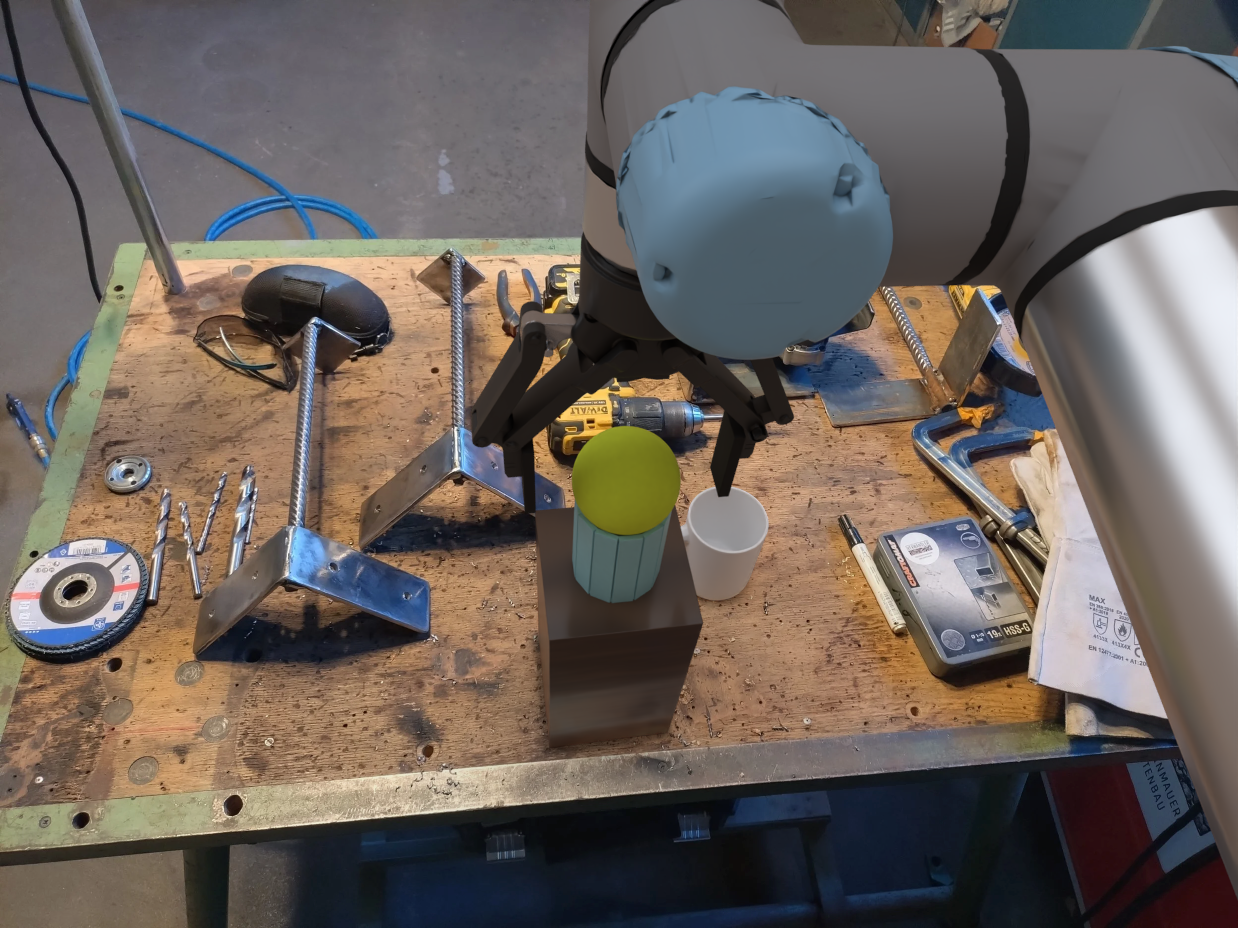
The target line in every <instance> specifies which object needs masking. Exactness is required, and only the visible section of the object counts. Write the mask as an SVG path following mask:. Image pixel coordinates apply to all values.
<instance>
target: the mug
mask: <svg viewBox="0 0 1238 928" xmlns="http://www.w3.org/2000/svg"><path fill="white" fill-rule="evenodd" d="M691 500H692V501H691V502H690V504H689V506H688V509H687V515H686V519H685V523H684V524H682V525H680V526H681V531H682V535H683V539H684V543H685V547H686V552H687V556H688V560H689V564H690V569H691V573H692V577H693V581H694V586H695V590H696V594H697V597H698V598H702V599H704V600H707V601H725V600H728V599H732V598H734V597H735V596H737V595H739V594H741V592H742V591H743V590H744V589H745V588H746V586H747V585H748V583H749V581H750V579H751V577H752V575H753V571H754V569H755V566H756V564H757V561H758V558H759V556H760V553H761V550H762V547H763V546H764V543H765V541H766V538H767V535H768V532H769V525H770V524H769V523H770V522H769V521H770V520H769V517H768V514H767V511H766V509H765V507H764V506H763V504H762V503H761V502H760V501H759V500H758V499H757V498H756V497H755V496H754V495H753V494H751V493H749V492H748V491H746V490H744V489H741V488H739V487H736V486H732V487H731V490H730V493H729V496H728V497H718V494H717V491H716V487H715V486H712V487H708V488H706V489H704V490H702V491H700V492H699V493H698V494H697V495H696V496H695V497H693V499H691Z"/></svg>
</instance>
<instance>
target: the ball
mask: <svg viewBox="0 0 1238 928" xmlns="http://www.w3.org/2000/svg"><path fill="white" fill-rule="evenodd" d="M681 479H682V477H681V469H680V465H679V462H678V460H677V457H676V456H675V453H674V452H673V450H672V449H671V447H670V446H669V445H668V443H666V441H664V440H663V439H662V438H661V437H660V436H659V435H657V434H655V433H654V432H652V431H650V430H647V429H646V428H642V427H638V426H633V425H620V426H614V427H610V428H607V429H605V430H602V431H601V432H599V433H597V434H596V435H594V436H593V437H591V438H590V439H589V440H588V441H587V442H585V444H584V445H583V446H582V448H581V450H580V451H579V452H578V454H577V456H576V458H575V460H574V463H573V467H572V471H571V489H572V494H573V498H574V501H575V500H576V503H577V505H578V507H579V508H580V510H581V512H582V513H583V514H584V516H585V517H586V518H587V519H588V520H589V521H590V522H591V523H593V524H594V525H595V526H597V527H599V528H600V529H602V530H605V531H607V532H610V533H614V534H619V535H633V534H639V533H643V532H645V531H648V530H650V529H652V528H654V527H655V526H657V525H658V524H660V523H661V522H662V521H663V520H664V519H665V518H666V517H667V516H668V515H669V514H670V512H671V511H672V509H673V508H674V506H675V505H676V504H677V501H678V499H679V495H680V491H681V484H682V481H681Z"/></svg>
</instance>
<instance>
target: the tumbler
mask: <svg viewBox="0 0 1238 928" xmlns="http://www.w3.org/2000/svg"><path fill="white" fill-rule="evenodd" d="M573 504H574V505H573V507H574V529H573V554H572V562H573V569H574V576H575V577H576V580H577V581H578V583H579V584H580V585H581V586H582V587H583V589H584V590H585V591H586V592H587V593H588V594H589V593H590V596H593V597H596V598H598V599H601V600H603V601H606V602H609V603H610V602H612V603H618V602H628V601H633V599H634V600H636V599H637V598H639V597H640V596H642V595H643V594H645V593H646V592H648V591H649V590H650V589H651V587H653V585H654V582H655V580H656V578H657V575H658V573H659V570H660V565H661V560H662V555H663V550H664V546H665V541H666V536H667V531H668V526H669V522H670V517H671V512H672V511H671V512H670V514H669V515H668V516H667V517H666V518H665V519H664V520H663V521H662V522H661V523H660V524H658V525H657V526H655V527H654V528H652V529H650V530H648V531H645V532H643V533H639V534H633V535H619V534H614V533H610V532H607V531H605V530H602V529H600V528H599V527H597V526H595V525H594V524H593V523H591V522H590V521H589V520H588V519H587V518H586V517H585V516H584V514H583V513H582V512H581V510H580V508H579V507H578V505H577V503H576V500H575V499H574V503H573Z"/></svg>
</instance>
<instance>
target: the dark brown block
mask: <svg viewBox="0 0 1238 928" xmlns="http://www.w3.org/2000/svg"><path fill="white" fill-rule="evenodd" d="M534 516H535V517H534V518H535V519H534V522H535V557H536V594H537V595H536V596H537V597H536V599H537V600H536V601H537V631H538V632H537V635H538V646H539V647H538V648H539V658H540V668H541V677H542V687H543V689H542V690H543V698H544V699H543V700H544V707H545V719H546V728H547V738H548V748H549V749H552V748H560V747H568V746H574V745H575V746H576V745H583V744H592V743H598V742H606V741H614V740H623V739H629V738H630V739H631V738H637V737H645V736H653V735H661V734H668V733H669V731H670V727H671V724H672V721H673V718H674V715H675V713H676V709H677V707H678V703H679V701H680V697H681V694H682V691H683V687H684V684H685V681H686V678H687V675H688V672H689V669H690V667H691V663H692V659H693V656H694V653H695V650H696V647H697V644H698V642H699V639H700V635H701V632H702V629H703V626H704V620H703V616H702V611H701V607H700V604H699V599H698V598H699V597H698V596H697V594H696V590H695V586H694V581H693V577H692V573H691V569H690V564H689V560H688V556H687V552H686V547H685V543H684V539H683V535H682V531H681V526H682V525H681V522H680V517H679V514H678V511H677V505H676V504H675V506H674V508H673V509H672V512H671V517H670V522H669V526H668V531H667V536H666V541H665V546H664V550H663V555H662V560H661V565H660V570H659V573H658V575H657V578H656V580H655V582H654V585H653V587H651V589H650V590H649V591H648V592H646V593H645V594H643V595H642V596H640V597H639V598H637V599H636V600H634V599H633V601H628V602H618V603H612V602H610V603H609V602H606V601H603V600H601V599H598V598H596V597H593V596H590V593H589V594H588V593H587V592H586V591H585V590H584V589H583V587H582V586H581V585H580V584H579V583H578V581H577V580H576V577H575V576H574V569H573V562H572V554H573V529H574V506H570V507H561V508H547V509H536V513H534Z"/></svg>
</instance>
